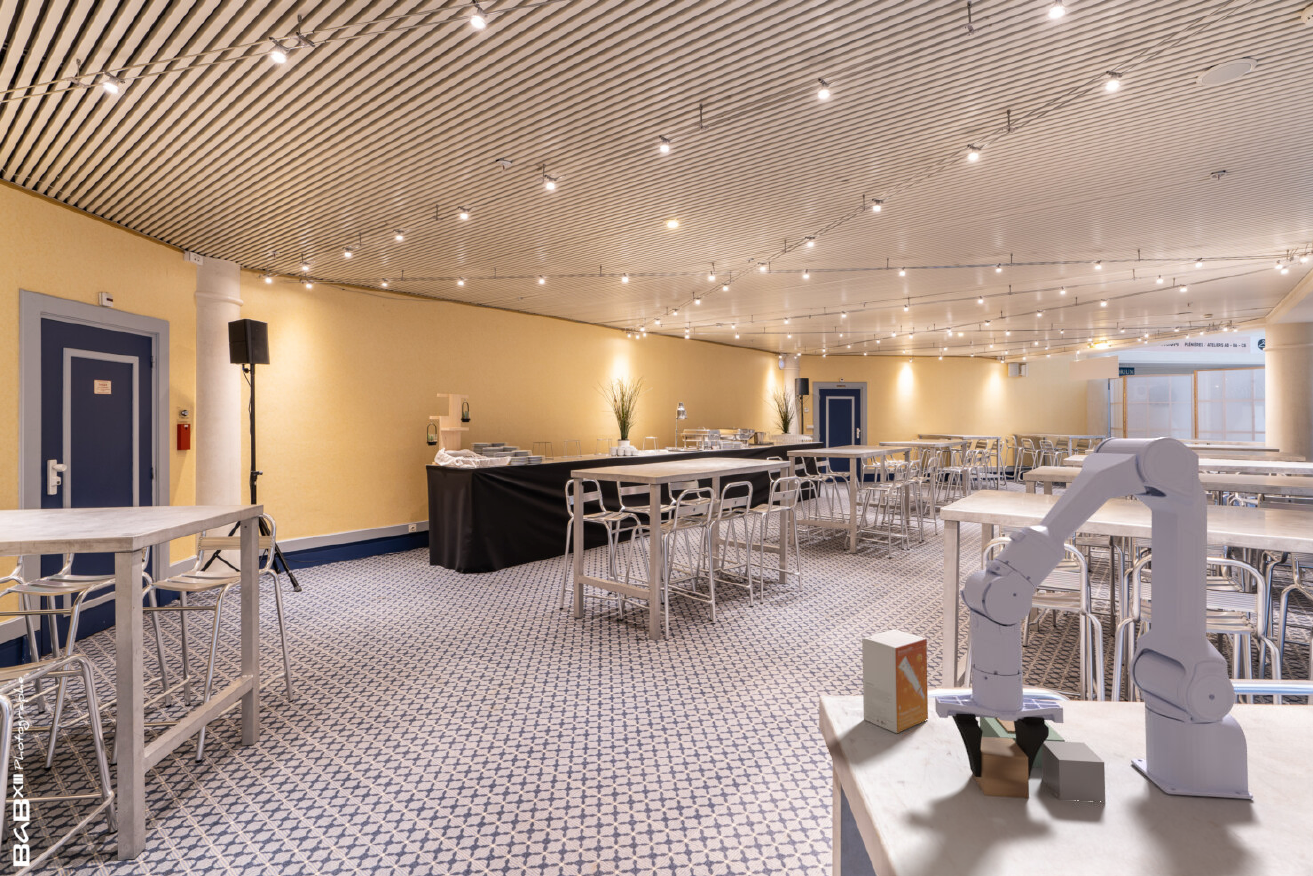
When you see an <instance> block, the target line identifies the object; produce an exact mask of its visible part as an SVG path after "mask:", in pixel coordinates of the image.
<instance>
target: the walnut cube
mask: <svg viewBox="0 0 1313 876" xmlns="http://www.w3.org/2000/svg"><path fill="white" fill-rule="evenodd" d="M980 753H981V768H982V770H981V777H975V776H974V774H973V773H972V772H971V775H972V776H973V778H974V779H975V781H976V782H977V784H978V786H979V788H980V789H981V790H982V793H983V795H984V796H987V797H990V796H991V797H1007V798H1017V799H1018V798H1019V799H1030V784H1029V781H1030V779H1029V777H1028V757H1027V756H1026V754H1025V753H1024V752H1023V751H1022V750H1021V748H1020V747H1019V746H1018V745H1017V744H1016V742H1015V741H1014V740H1013V739H1012V738H995V737H982V739H981V752H980Z"/></svg>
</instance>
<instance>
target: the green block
mask: <svg viewBox="0 0 1313 876" xmlns="http://www.w3.org/2000/svg"><path fill="white" fill-rule="evenodd" d="M1045 725H1046V726H1047V727H1048V728H1049V735H1048V738H1047V739H1046V740H1045V741H1061V742H1066V739H1065V738H1063V737H1062V736H1061V735H1060V734H1059V733H1058V732H1057V731H1056V730H1055V729H1054V728H1053V727H1051V725H1050V724H1049V723H1048V722H1046V721H1045ZM979 727H980V728H981V729H982V731H983V733H982V737H995V738H1012V739H1013V740H1014V741H1015V742H1016V734H1015V727H1014V721H1003V720H1000V719H999V718H987V717H979ZM1032 768H1042V746H1041V747H1040V749H1039V751H1038V753H1037V755H1036V757H1035V760H1034V763H1033V766H1032Z"/></svg>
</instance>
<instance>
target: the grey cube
mask: <svg viewBox="0 0 1313 876" xmlns="http://www.w3.org/2000/svg"><path fill="white" fill-rule="evenodd" d="M1041 769H1042V770H1041V771H1042V773H1041V774H1042V775H1041V776H1042V778H1041V779H1042V780H1043V782H1044V783H1045V784H1046V785H1047V786H1048V787H1049V789H1050V790H1051V791H1052V793H1054V795H1055V796H1056V797H1057V799H1058V800H1059V801H1063V800H1076V801H1075V802H1079V801H1093V802H1092V803H1095V802H1100V801H1101V802H1105V803H1106V777H1105V776H1106V775H1105V774H1106V773H1105V771H1106V770H1105V761H1104V760H1103V759H1101V757H1099V756H1098V754H1096V753H1095V752H1094V751H1093V750H1092V749H1091V747H1089V746H1088V745H1087V744H1086V743H1085V742H1080V741H1079V742H1076V741H1075V742H1074V741H1065V742H1061V741H1044V743H1043V744H1042V767H1041ZM1077 800H1079V801H1077Z"/></svg>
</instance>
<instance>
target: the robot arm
mask: <svg viewBox="0 0 1313 876" xmlns="http://www.w3.org/2000/svg"><path fill="white" fill-rule="evenodd" d="M1199 460H1200V459H1199V454H1198V453H1196V452H1195V451H1194V450H1193V449H1191V448H1190V447H1188V446H1187V444H1184V442H1183V441H1180V440H1179V439H1177V438H1174V437H1168V436H1165V437H1164V436H1163V437H1156V438H1122V437H1109V438H1105V439H1104V440H1102V441H1100V442H1099V443H1098V444H1097V445H1096V446H1095V448H1093V452H1091V453H1090V452H1089V454H1088V455H1087V456H1085V457H1084V459H1083V461H1082V467H1081V470H1080V471H1079V473H1078V474H1077V475H1076V476H1075V478H1074V479H1073V481H1072V482H1071V483H1070V484H1069V486H1067V488H1066V489H1065V491H1064V492H1063V493H1062V495H1061V496H1060V497H1059V498H1058V499H1057V501H1056V502H1055V504H1053V506H1052V507H1051V508H1050V510H1049V511H1048V512H1047V513H1046V515H1045V516H1044V517H1043V519H1042V520H1041V521H1040V522H1039V524H1037V525H1027V526H1023V527H1022V528H1021V529H1020V530H1017V529H1014V530H1013V531H1011V534H1009V536H1008V538H1009V539H1010V541H1009V542H1008V543H1007V544H1005V547H1003V549H1001V550H1000V552H998V554H997V555H996V556H995V557H994V558H993V560H991V559H989V560H988V561H987V562H986V564H985V565H984V566H985V569H981V570H980V569H979V571H978V570H977V571H975V572H973V573H972V574H971V575H969V576H968V578H967V579H966V581H965V582H964V588H963V589H960V590H959V593H960V598H961V600H962V603H964V605H965V606H966V608H967V609H968V611H969V620H970V651H971V652H970V655H971V656H970V657H971V690H972V691H971V693H968V694H961V695H951V696H934V697H935V700H934V701H935V702H934V704H935V706H934V709H935V713H936V714H937V716H938V717H939V718H942V719H948V718H949V717H951V718H952V719H953V721H954V723H955V725H956V727H957V730H958V732H959V735H960V737H961V738H962V742H963V745H964V747H965V750H966V753H967V758H968V762H969V769H970V771H971V774H972V773H973V774H974V776H975V777H981V770H982V768H981V753H980V752H981V739H982V733H983V731H982V729H981V728H980V724H979V720H977V718H980V717H987V718H999V719H1000V720H1003V721H1014V727H1015V734H1016V744H1017V745H1018V746H1019V747H1020V748H1021V750H1022V751H1023V752H1024V753H1025V754H1026V756H1027V757H1028V777H1029V780H1030V778H1031V772H1032V770H1033V767H1032V766H1033V763H1034V760H1035V757H1036V755H1037V753H1038V751H1039V749H1040V747H1041V746H1042V744H1043V743H1044V741H1045V740H1046V739H1047V738H1048V735H1049V728H1048V727H1047V726H1046V725H1045V722H1046V721H1051V722H1053V723H1056V724H1063V723H1064V708H1063V706H1061V704H1059V703H1058V702H1057V701H1053V700H1043V699H1034V698H1029V697H1024V691H1023V690H1024V686H1023V684H1024V683H1023V681H1024V680H1023V651H1022V650H1023V648H1022V645H1023V644H1022V642H1023V641H1022V620H1023V619H1025V617H1028V616H1029V615H1030V613H1031V611H1032V607H1033V596H1034V595H1035V594H1036V593H1037V592H1036V590H1037V589H1038V587H1040V585H1041V584H1042V583H1043V582H1044V581H1045V580H1046V579H1047V578H1048V577H1049V575H1051V573H1052V572H1053V571H1054V570H1055V569H1056V568H1057V566H1058V565H1059V564H1060V563H1061V562H1062V561H1063V560H1064V558H1066V548H1065V542H1066V541H1067V540H1068V539H1070V537H1071V536H1072V535H1074V533H1076V532H1077V530H1079V528H1081V527H1082V526H1083V525H1084V524H1085V523H1086V522H1087V521H1088V520H1089V519H1090V518H1091V517H1092V516H1093V515H1095V513H1097V511H1099V510H1100V508H1102V507H1103V506H1104V505H1105V504H1106V503H1107V502H1108V501H1109V500H1110V499H1113V498H1120V497H1121V498H1122V497H1126V496H1127V497H1128V496H1134V497H1135V498H1136V499H1138V500H1139V501H1141V503H1143V504H1144V505H1145V506H1147V508H1148V509H1150V510H1151V539H1150V540H1151V541H1150V542H1151V544H1150V545H1151V547H1150V549H1151V554H1150V555H1151V564H1150V565H1151V571H1150V572H1151V574H1150V575H1151V576H1150V577H1151V578H1150V585H1151V586H1150V587H1151V590H1150V609H1151V610H1150V629H1149V630H1147V631H1146V632H1144V633H1143V634H1141V635H1140V636H1139V637H1137V638H1136V650H1135V652H1134V654H1133V657H1132V659H1131V661H1130V664H1129V676H1130V680H1131V681H1132V683H1133V684H1134V686H1135V687H1136V688H1138V690H1140V695H1141V696H1140V699H1141V700H1143V701H1144V714H1145V715H1144V716H1145V717H1144V719H1145V721H1144V722H1145V725H1144V727H1145V754H1146V755H1145V759H1144V758H1131V759H1130V763H1131V764H1132V765H1134V766H1135V767H1136V768H1137V769H1138V770H1139V771H1140V772H1142V774H1144V775H1145V776H1146V777H1147V778H1148V779H1149V780H1150V781H1152V782H1153V783H1154V784H1155V785H1156V786H1157V787H1158V788H1159V789H1160V790H1162V791H1163V792H1164V793H1166V794H1168V795H1182V796H1193V797H1194V796H1196V797H1197V796H1198V797H1211V798H1212V797H1213V798H1214V797H1215V798H1226V799H1227V798H1228V799H1229V798H1231V799H1244V800H1245V799H1246V800H1247V799H1249V800H1251V799H1254V794H1253V793H1252V792H1250V791H1249V777H1248V776H1249V774H1248V771H1249V770H1248V744H1247V743H1248V742H1247V739H1246V736H1245V732H1244V730H1243V728H1242V726H1241V724H1240V723H1239V722H1238V721H1237V719H1236V718H1234V717H1233V715H1231V714H1230V712H1231V711H1232V709H1233V707H1234V704H1235V702H1236V701H1235V700H1236V693H1235V688H1234V687H1235V686H1234V685H1233V682H1232V681H1231V680H1230V679H1231V678H1230V677H1229V673H1228V661H1227V660H1226V658H1225V657H1224V656H1223V655H1222V654H1221V652H1219V651H1218V649H1217V648H1216V647H1215V646H1214V645H1213V644H1212V642H1211V641H1209V639H1208V637H1207V622H1208V621H1207V617H1208V616H1207V615H1208V614H1207V612H1208V611H1207V609H1208V608H1207V606H1208V605H1207V603H1208V602H1207V598H1208V595H1207V592H1208V591H1207V588H1208V587H1207V586H1208V582H1207V581H1208V570H1207V569H1208V566H1207V565H1208V496H1207V493H1206V491H1205V489H1204V486H1203V484H1202V481H1201V479H1200V476H1199V475H1200V474H1199V471H1200V470H1199V468H1200V467H1199V466H1200V465H1199ZM974 776H973V777H974Z"/></svg>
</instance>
